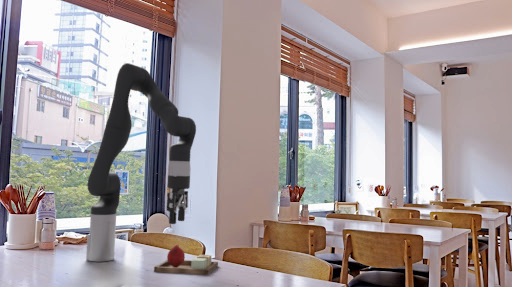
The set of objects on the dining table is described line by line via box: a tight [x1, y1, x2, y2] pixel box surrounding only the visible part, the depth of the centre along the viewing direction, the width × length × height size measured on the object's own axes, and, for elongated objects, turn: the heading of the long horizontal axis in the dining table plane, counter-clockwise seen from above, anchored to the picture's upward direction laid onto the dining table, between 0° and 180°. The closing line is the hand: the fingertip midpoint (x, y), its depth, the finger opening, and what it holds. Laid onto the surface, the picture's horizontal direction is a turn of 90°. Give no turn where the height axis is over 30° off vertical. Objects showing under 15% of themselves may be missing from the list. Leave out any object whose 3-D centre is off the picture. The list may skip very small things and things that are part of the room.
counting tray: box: [153, 259, 219, 276], centre depth 146 cm, size 18×13×3 cm
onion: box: [166, 243, 186, 268], centre depth 147 cm, size 6×6×8 cm
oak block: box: [196, 254, 212, 269], centre depth 148 cm, size 4×4×4 cm
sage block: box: [191, 257, 207, 269], centre depth 142 cm, size 4×4×4 cm
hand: (176, 222), depth 147 cm, fingers open, 8 cm apart
